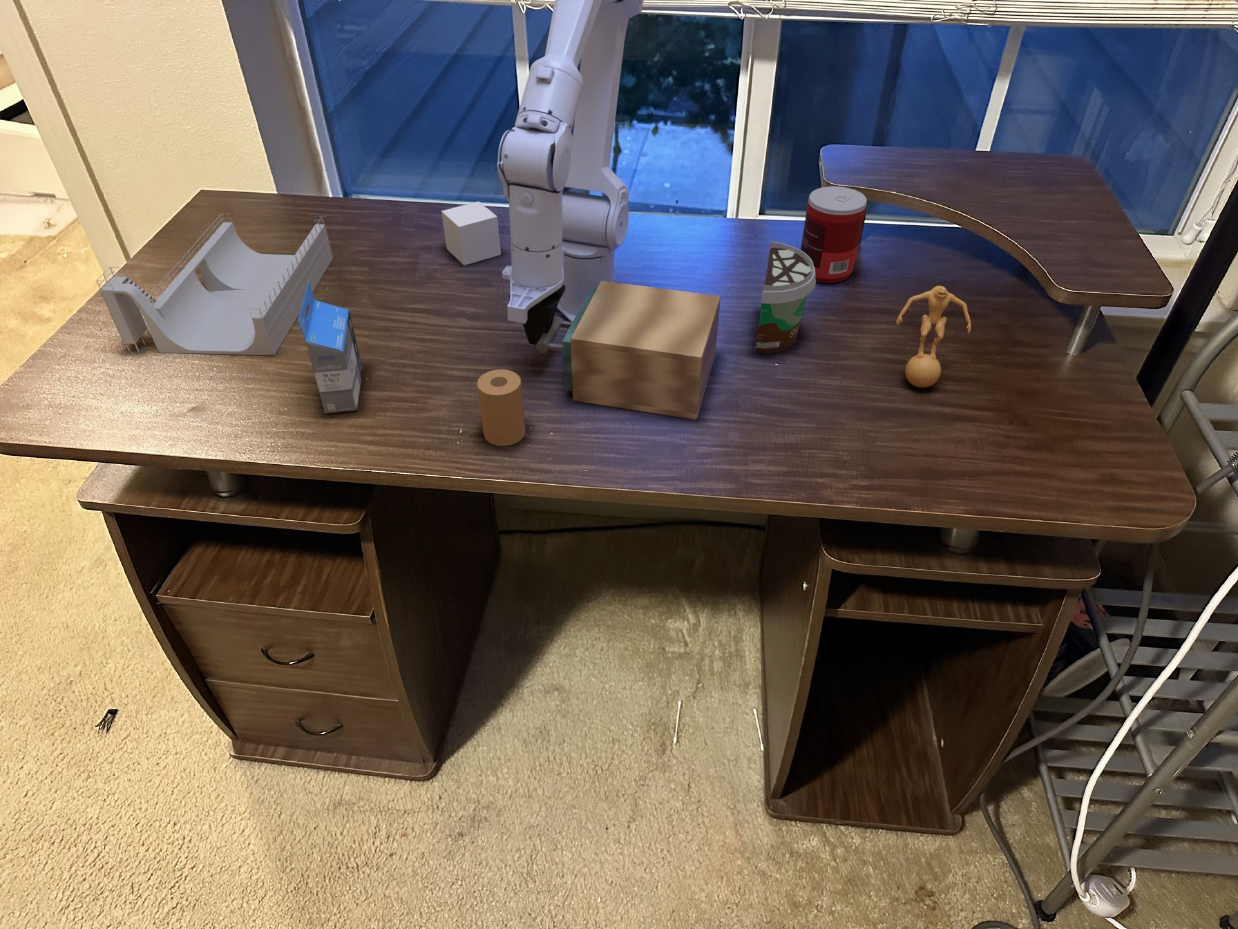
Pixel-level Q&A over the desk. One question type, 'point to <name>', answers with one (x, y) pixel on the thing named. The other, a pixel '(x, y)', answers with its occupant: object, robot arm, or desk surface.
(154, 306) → the skate ramp
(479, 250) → the white cube
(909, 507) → the desk surface
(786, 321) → the food container
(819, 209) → the canned food
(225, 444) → the desk surface
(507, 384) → the paper roll
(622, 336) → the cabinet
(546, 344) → the drawer
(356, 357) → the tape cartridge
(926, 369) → the figurine
